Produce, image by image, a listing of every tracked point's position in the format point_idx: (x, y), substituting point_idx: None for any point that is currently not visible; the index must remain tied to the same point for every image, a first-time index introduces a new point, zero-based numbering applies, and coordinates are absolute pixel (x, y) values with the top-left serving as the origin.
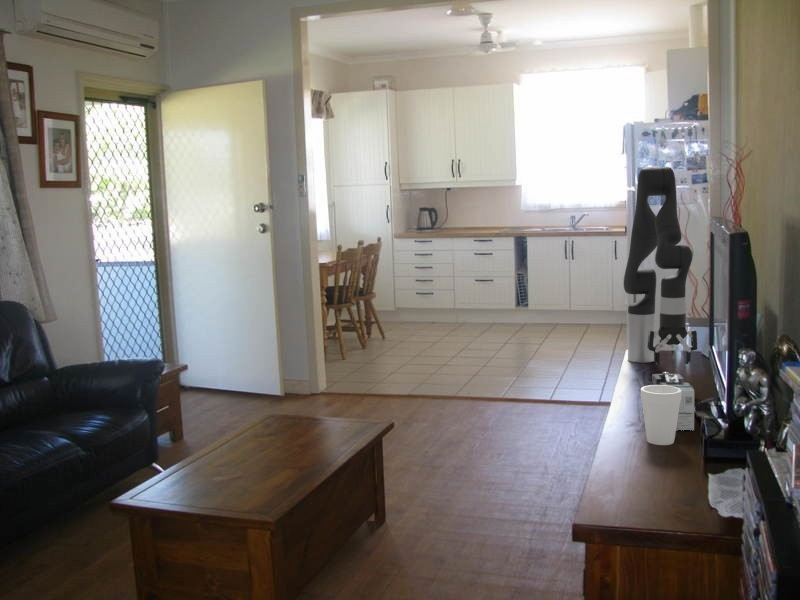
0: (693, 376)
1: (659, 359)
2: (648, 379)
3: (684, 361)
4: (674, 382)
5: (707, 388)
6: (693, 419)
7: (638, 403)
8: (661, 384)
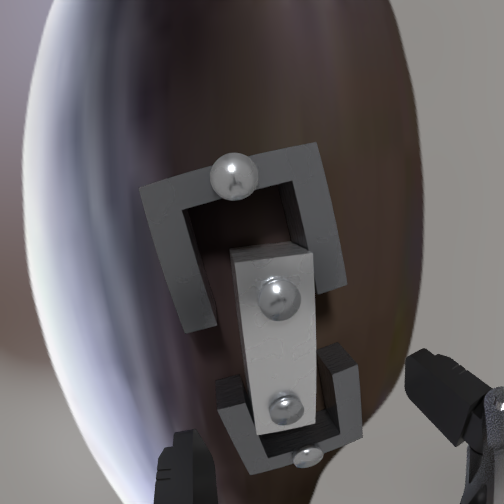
0: (349, 15)
1: (215, 491)
2: (131, 99)
3: (412, 358)
4: (294, 426)
5: (416, 242)
6: None
7: None
8: (229, 435)
